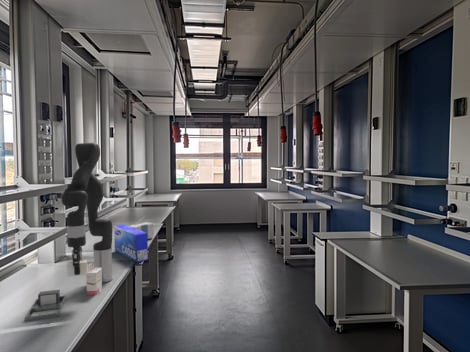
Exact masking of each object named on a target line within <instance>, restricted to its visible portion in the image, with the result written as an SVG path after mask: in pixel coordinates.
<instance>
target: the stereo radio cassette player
mask: <svg viewBox="0 0 470 352" xmlns="http://www.w3.org/2000/svg"><path fill="white" fill-rule="evenodd" d="M146 216H147V214H146V215H144V216H143V217H142V219H144V218H145V217H146ZM139 222H141V219H139V220H138V221H137V222H136V223H135V224H133V225H128V226H129V227H132V228H135V229H137V230H140V231H143V232H146V233H147V240H150V239H151V240H152V239H153V238H154V233H155V230H154V229H155V228H154V227H155V226H154V223H153V222H141V223H139Z"/></svg>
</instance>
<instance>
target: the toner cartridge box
mask: <svg viewBox="0 0 470 352" xmlns="http://www.w3.org/2000/svg"><path fill="white" fill-rule="evenodd" d="M129 226H130V225H126V224H121V225H114V226H113V237H114V239H113V240H114V243H113V244H114V251H115V252H116V253H118V254H121V255H122V256H124V257H126V258H128V259H130V260H131V261H133V262H135V263H142V262H146V261H149V247H148V246H149V244H148V243H149V241H148V240H149V239H147V233H146V232H143V231H140V230H137V229H135V228H132V227H129Z"/></svg>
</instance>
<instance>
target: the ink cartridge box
mask: <svg viewBox="0 0 470 352" xmlns="http://www.w3.org/2000/svg"><path fill="white" fill-rule="evenodd" d="M93 266H94V261H92V262H91V263H89V264H88V273H87V275H85V279H86V295H87V296H88V295H89V296H90V295H97V294H100V293H101V292H102V291H103V282H102V268H94V267H93Z"/></svg>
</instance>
